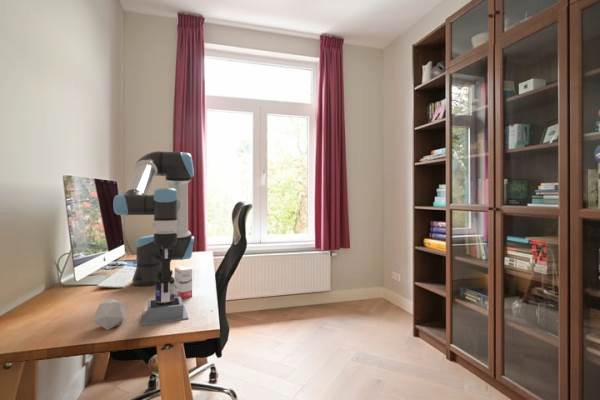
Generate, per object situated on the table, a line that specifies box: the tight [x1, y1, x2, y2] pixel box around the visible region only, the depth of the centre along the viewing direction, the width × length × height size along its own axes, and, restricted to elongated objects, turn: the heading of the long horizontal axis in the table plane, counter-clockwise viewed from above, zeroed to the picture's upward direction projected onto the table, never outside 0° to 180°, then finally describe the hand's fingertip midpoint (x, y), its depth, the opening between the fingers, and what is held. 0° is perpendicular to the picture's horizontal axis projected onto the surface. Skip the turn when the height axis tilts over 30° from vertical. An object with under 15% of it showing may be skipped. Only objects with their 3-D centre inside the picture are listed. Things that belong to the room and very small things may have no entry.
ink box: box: [174, 265, 193, 299], centre depth 135 cm, size 8×5×12 cm, turn 39°
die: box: [92, 298, 128, 331], centre depth 101 cm, size 8×9×10 cm
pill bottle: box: [154, 269, 175, 305], centre depth 111 cm, size 6×6×11 cm
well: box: [141, 296, 189, 326], centre depth 111 cm, size 14×14×4 cm
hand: (165, 298), depth 111 cm, fingers closed on pill bottle, 6 cm apart
